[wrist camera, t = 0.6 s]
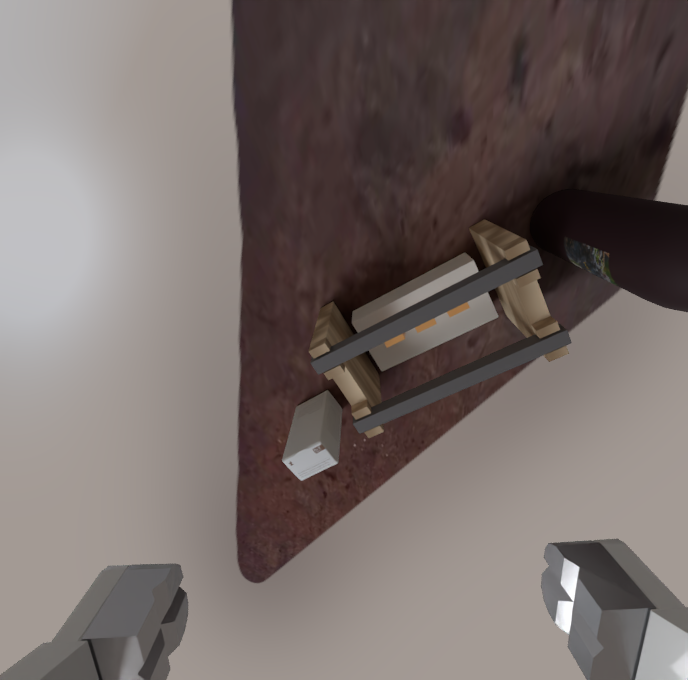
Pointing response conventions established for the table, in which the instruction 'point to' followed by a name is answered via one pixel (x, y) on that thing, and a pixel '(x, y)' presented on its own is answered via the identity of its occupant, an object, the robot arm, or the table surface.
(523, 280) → the rack
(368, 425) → the grey bar
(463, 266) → the breaker strip
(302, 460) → the skincare box
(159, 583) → the robot arm
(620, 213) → the wine bottle
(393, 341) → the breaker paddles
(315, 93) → the table surface
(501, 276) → the long charcoal square rod
